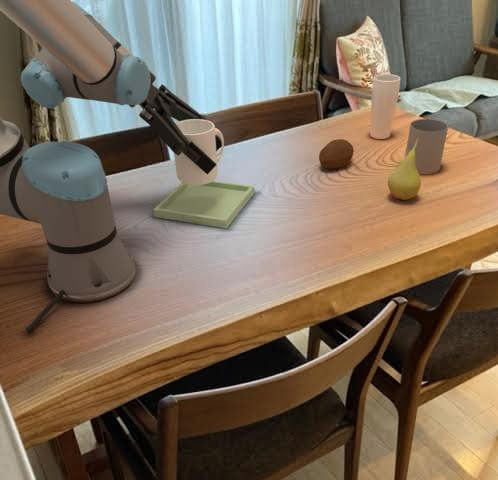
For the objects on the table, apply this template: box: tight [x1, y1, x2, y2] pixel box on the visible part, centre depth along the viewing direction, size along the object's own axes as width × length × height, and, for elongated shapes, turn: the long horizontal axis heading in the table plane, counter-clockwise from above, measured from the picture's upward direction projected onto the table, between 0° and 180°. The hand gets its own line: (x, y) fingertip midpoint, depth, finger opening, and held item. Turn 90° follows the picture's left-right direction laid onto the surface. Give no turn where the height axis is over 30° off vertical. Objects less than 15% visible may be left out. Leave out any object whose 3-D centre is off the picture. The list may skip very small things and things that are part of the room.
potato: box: [318, 138, 355, 170], centre depth 130 cm, size 7×10×6 cm
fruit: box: [387, 138, 422, 201], centre depth 114 cm, size 7×8×12 cm
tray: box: [152, 180, 255, 229], centre depth 117 cm, size 17×17×2 cm
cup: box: [404, 118, 449, 175], centre depth 126 cm, size 8×8×10 cm
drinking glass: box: [369, 73, 401, 140], centre depth 140 cm, size 7×7×15 cm
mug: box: [173, 118, 225, 185], centre depth 111 cm, size 9×12×11 cm
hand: (216, 158), depth 111 cm, fingers closed on mug, 10 cm apart
